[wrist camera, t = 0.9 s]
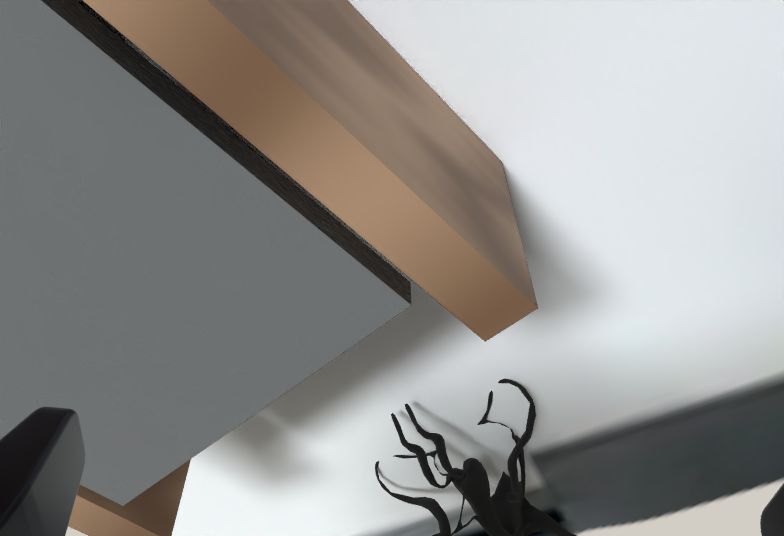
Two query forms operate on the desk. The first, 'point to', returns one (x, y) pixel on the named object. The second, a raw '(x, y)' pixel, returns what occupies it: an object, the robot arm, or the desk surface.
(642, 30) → the desk surface
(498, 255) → the wooden stand
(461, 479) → the creature
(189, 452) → the trapdoor
